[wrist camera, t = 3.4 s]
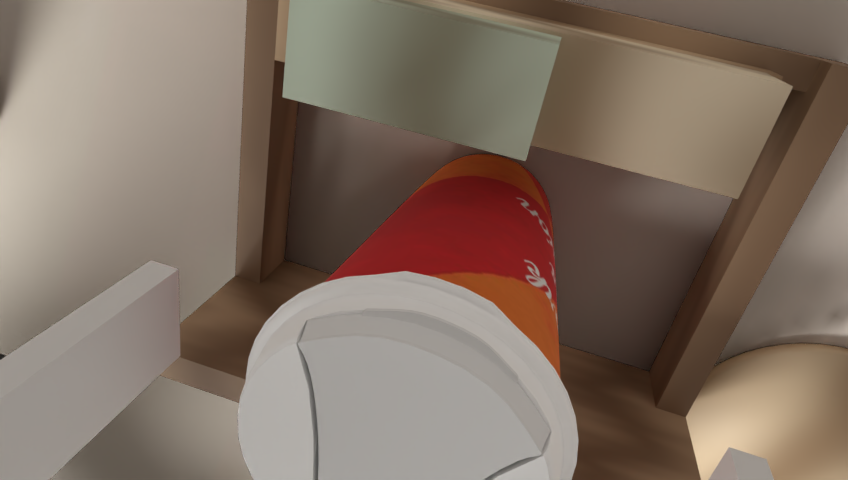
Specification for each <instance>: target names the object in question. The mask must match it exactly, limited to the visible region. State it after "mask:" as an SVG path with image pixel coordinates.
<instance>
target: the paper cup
mask: <svg viewBox="0 0 848 480" xmlns="http://www.w3.org/2000/svg"><path fill="white" fill-rule="evenodd" d="M237 421H238V438H239V442H240V446H241V450H242V455H243V458H244V460H245V462H246V465H247V467H248V470H249V472H250V474H251V476H252V478H253V479H254V480H572V477H573V473H574V470H575V467H576V464H577V453H578V431H577V424H576V416H575V413H574V410H573V407H572V404H571V401H570V398H569V395H568V392H567V390H566V388H565V387H564V385H563V383H562V381H561V379H560V358H559V336H558V314H557V292H556V273H555V254H554V238H553V226H552V216H551V211H550V206H549V202H548V199H547V196H546V194H545V192H544V190H543V188H542V187H541V185H540V184H539V182H538V181H537V180H536V178H535V177H534V176H533V175H532V174H531V173H530V172H529V171H528V170H526V169H525V168H524V167H522V166H521V165H519V164H518V163H516V162H514V161H512V160H510V159H507V158H504V157H501V156H497V155H491V154H475V155H468V156H465V157H461V158H458V159H456V160H454V161H452V162H450V163H448V164H446V165H445V166H443V167H442V168H441V169H439V170H438V171H437V172H436V173H434V174H433V175H432V176H431V177H430V178H429V179H428V180H427V181H426V182H425V183H423V184H422V185H421V186H420V187H419V188H418V189H417V190H416V191H415V192H414V193H413V194H412V195H411V196H410V197H409V198H408V199H407V200H406V201H405V202H404V203H403V204H402V205H401V206H400V207H399V208H398V209H397V210H396V211H395V212H394V213H393V214H392V215H391V216H390V217H389V218H388V219H387V220H386V221H385V222H384V223H383V224H382V225H381V226H380V227H379V228H378V229H377V230H376V231H375V232H374V233H373V234H372V235H371V236H370V237H369V238H368V239H367V240H366V241H365V242H364V243H363V244H362V245H361V246H360V247H359V248H358V249H357V250H356V251H355V252H354V253H353V254H352V255H351V256H350V257H349V258H348V259H347V260H346V261H345V262H344V263H343V264H342V265H341V266H340V267H339V268H338V269H337V270H336V271H335V272H334V273H333V274H332V275H331V276H330V277H329V278H328V279H327V280H326V281H325V282H323V283H321V284H318V285H316V286H314V287H311V288H309V289H307V290H305V291H302V292H300V293H299V294H297V295H296V296H294V297H293V298H291V299H290V300H288V301H287V302H286V303H284V304H283V305H281V306H280V307H279V309H278V310H277V311H276V312H275V313H274V314H273V315H272V316H271V317H270V318H269V319H268V320H267V321H266V322H265V324H264V325H263V327H262V329H261V330H260V332H259V334H258V335H257V337H256V338H255V341H254V344H253V346H252V349H251V352H250V355H249V358H248V365H247V372H246V381H245V385H244V387H243V390H242V393H241V396H240V401H239V409H238V420H237Z"/></svg>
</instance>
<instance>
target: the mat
mask: <svg viewBox="0 0 848 480" xmlns="http://www.w3.org/2000/svg"><path fill="white" fill-rule="evenodd" d="M686 420H687V424H688V429H689V433H690V437H691V441H692V445H693V449H694V453H695V457H696V461H697V465H698V469H699V473H700V478H701V480H709V478H710V476H711V475H712V473H713V472H714V470H715V468H716V467H717V465H718V464H719V462H720V461H721V459H722V457H723V456H724V454H725V453H726V451H727V450H728V448H729V447H730V448H734V449H737V450H740V451H743V452H746V453H749V454H752V455H755V456H758V457H761V458H764V459H767V462H768V465H769V467H770V470H771V473H772V476H773V478H774V480H848V349H847V348H842V347H838V346H831V345H823V344H805V343H797V344H783V345H776V346H770V347H764V348H760V349H756V350H752V351H749V352H745V353H743V354H740V355H737V356H735V357H732V358H730V359H728V360H726V361H724V362H722V363H720V364H718V365H716V366H715V367H713V369H712V371H711V372H710V374H709V376H708V378H707V380H706V381H705V383H704V385H703V387H702V389H701V391H700V392H699V394H698V396H697V398H696V400H695V401H694V403H693V405H692V407H691V409H690V410H689V412H688V414H687V416H686Z"/></svg>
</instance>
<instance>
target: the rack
mask: <svg viewBox="0 0 848 480" xmlns="http://www.w3.org/2000/svg"><path fill="white" fill-rule="evenodd" d="M298 101H299V102H303V103H306V104H310V105H314V106H318V107H322V108H325V109H329V110H333V111H337V112H341V113H344V114H348V115H352V116H356V117H359V118H363V119H367V120H371V121H375V122H378V123H382V124H386V125H390V126H394V127H397V128H401V129H405V130H409V131H412V132H416V133H420V134H424V135H428V136H431V137H435V138H439V139H443V140H447V141H450V142H454V143H458V144H462V145H465V146H469V147H473V148H477V149H481V150H484V151H488V152H492V153H496V154H500V155H503V156H507V157H511V158H515V159H518V160H522V161H526V158H527V155H528V152H529V148H530V145H531V146H535V147H539V148H543V149H547V150H551V151H554V152H558V153H562V154H566V155H570V156H574V157H578V158H581V159H585V160H589V161H593V162H597V163H601V164H604V165H608V166H612V167H616V168H620V169H624V170H628V171H631V172H635V173H639V174H643V175H647V176H651V177H654V178H658V179H662V180H666V181H670V182H674V183H678V184H681V185H685V186H689V187H693V188H697V189H701V190H704V191H708V192H712V193H716V194H720V195H724V196H728V197H731V198H733V200H732V202H731V204H730V207H729V209H728V211H727V213H726V215H725V217H724V219H723V221H722V223H721V225H720V227H719V229H718V231H717V233H716V235H715V237H714V239H713V241H712V244H711V246H710V248H709V250H708V252H707V254H706V256H705V258H704V260H703V262H702V264H701V266H700V268H699V270H698V272H697V274H696V276H695V278H694V281H693V283H692V285H691V287H690V289H689V291H688V293H687V295H686V297H685V299H684V301H683V303H682V305H681V307H680V309H679V311H678V313H677V315H676V318H675V320H674V322H673V324H672V326H671V328H670V330H669V332H668V334H667V336H666V338H665V340H664V342H663V344H662V346H661V348H660V350H659V352H658V355H657V357H656V359H655V361H654V363H653V365H652V367H651V369H650V371H646V370H642V369H639V368H636V367H633V366H629V365H626V364H623V363H620V362H616V361H613V360H610V359H606V358H603V357H600V356H597V355H593V354H590V353H587V352H584V351H580V350H577V349H574V348H570V347H567V346H564V345H561V344H559V358H560V379H561V381H562V383H563V385H564V387H565V388H566V390H567V392H568V395H569V398H570V401H571V404H572V407H573V410H574V413H575V416H576V424H577V431H578V453H577V464H576V467H575V470H574V473H573V477H572V480H701V478H700V473H699V469H698V465H697V461H696V457H695V453H694V449H693V445H692V441H691V437H690V433H689V429H688V424H687V420H686V416H687V414H688V412H689V410H690V409H691V407H692V405H693V403H694V401H695V400H696V398H697V396H698V394H699V392H700V391H701V389H702V387H703V385H704V383H705V381H706V380H707V378H708V376H709V374H710V372H711V371H712V369H713V367H714V365H715V363H716V362H717V360H718V358H719V356H720V354H721V352H722V351H723V349H724V347H725V345H726V343H727V342H728V340H729V338H730V336H731V334H732V333H733V331H734V329H735V327H736V325H737V324H738V322H739V320H740V318H741V316H742V314H743V313H744V311H745V309H746V307H747V305H748V304H749V302H750V300H751V298H752V296H753V295H754V293H755V291H756V289H757V287H758V285H759V284H760V282H761V280H762V278H763V276H764V275H765V273H766V271H767V269H768V267H769V266H770V264H771V262H772V260H773V258H774V256H775V255H776V253H777V251H778V249H779V247H780V246H781V244H782V242H783V240H784V238H785V237H786V235H787V233H788V231H789V229H790V227H791V226H792V224H793V222H794V220H795V218H796V217H797V215H798V213H799V211H800V209H801V208H802V206H803V204H804V202H805V200H806V198H807V197H808V195H809V193H810V191H811V189H812V188H813V186H814V184H815V182H816V180H817V179H818V177H819V175H820V173H821V171H822V169H823V168H824V166H825V164H826V162H827V160H828V159H829V157H830V155H831V153H832V151H833V150H834V148H835V146H836V144H837V142H838V140H839V139H840V137H841V135H842V133H843V131H844V130H845V128H846V126H847V124H848V64H845V63H842V62H837V61H833V60H828V59H824V58H819V57H815V56H810V55H806V54H801V53H797V52H793V51H788V50H784V49H779V48H775V47H770V46H766V45H761V44H757V43H752V42H748V41H743V40H739V39H734V38H730V37H725V36H721V35H716V34H712V33H708V32H703V31H699V30H694V29H690V28H685V27H681V26H676V25H672V24H667V23H663V22H658V21H654V20H649V19H645V18H640V17H636V16H631V15H627V14H623V13H618V12H614V11H609V10H605V9H600V8H596V7H591V6H587V5H582V4H578V3H573V2H569V1H564V0H247V15H246V39H245V62H244V85H243V108H242V131H241V154H240V177H239V200H238V223H237V246H236V269H235V277H234V278H232V279H231V280H230V281H229V282H228V283H227V284H226V285H224V286H223V287H222V288H221V289H220V290H219V291H217V292H216V293H215V294H214V295H213V296H212V297H211V298H209V299H208V300H207V301H206V302H205V303H204V304H203V305H201V306H200V307H199V308H198V309H197V310H196V311H194V312H193V313H192V314H191V315H190V316H189V317H188V318H186V319H185V320H184V321H183V322H182V323H181V324H180V356H179V357H178V358H177V359H176V360H175V361H174V362H173V363H172V364H171V365H170V366H169V367H168V368H167V369H166V370H165V371H164V372H163V373H162V374H160V376H163V377H166V378H169V379H172V380H175V381H177V382H180V383H183V384H186V385H189V386H192V387H195V388H198V389H201V390H203V391H206V392H209V393H212V394H215V395H218V396H221V397H224V398H227V399H229V400H232V401H235V402H238V403H239V401H240V396H241V393H242V390H243V387H244V385H245V381H246V372H247V365H248V358H249V355H250V352H251V349H252V346H253V344H254V341H255V338H256V337H257V335H258V334H259V332H260V330H261V329H262V327H263V325H264V324H265V322H266V321H267V320H268V319H269V318H270V317H271V316H272V315H273V314H274V313H275V312H276V311H277V310H278V309H279V307H280V306H281V305H283V304H284V303H286V302H287V301H288V300H290V299H291V298H293V297H294V296H296V295H297V294H299V293H300V292H302V291H305V290H307V289H309V288H311V287H314V286H316V285H318V284H321V283H323V282H325V281H326V280H327V279H328V278H329V277H330V276H331V274H328V273H325V272H322V271H318V270H315V269H312V268H309V267H305V266H302V265H299V264H295V263H292V262H289V261H286V260H284V257H285V246H286V234H287V223H288V212H289V201H290V190H291V178H292V167H293V156H294V145H295V133H296V122H297V111H298Z"/></svg>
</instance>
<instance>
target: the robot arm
mask: <svg viewBox="0 0 848 480" xmlns="http://www.w3.org/2000/svg"><path fill="white" fill-rule="evenodd" d="M179 356H180V310H179V269H177V268H174V267H171V266H168V265H165V264H162V263H159V262H156V261H153V260H150V261H149V262H147V263H146V264H144V265H143V266H141V267H140V268H138V269H137V270H135V271H134V272H132V273H131V274H129V275H128V276H126V277H125V278H123V279H122V280H120V281H119V282H117V283H116V284H114V285H113V286H111V287H110V288H108V289H107V290H105V291H104V292H102V293H101V294H99V295H98V296H96V297H94V298H93V299H91V300H90V301H88V302H87V303H85V304H84V305H82V306H81V307H79V308H78V309H76V310H75V311H73V312H72V313H70V314H69V315H67V316H66V317H64V318H63V319H61V320H60V321H58V322H57V323H55V324H54V325H52V326H51V327H49V328H48V329H46V330H45V331H43V332H42V333H40V334H39V335H37V336H36V337H34V338H33V339H31V340H30V341H28V342H27V343H25V344H24V345H22V346H21V347H19V348H18V349H16V350H15V351H13V352H11V353H10V354H8V355H7V356H5V355H2V354H0V480H49V479H50V478H52V477H53V476H54V475H55V474H56V473H57V472H58V471H59V470H60V469H61V468H62V467H63V466H64V465H65V464H66V463H67V462H68V461H70V460H71V459H72V458H73V457H74V456H75V455H76V454H77V453H78V452H79V451H80V450H81V449H82V448H83V447H84V446H85V445H86V444H87V443H89V442H90V441H91V440H92V439H93V438H94V437H95V436H96V435H97V434H98V433H99V432H100V431H101V430H102V429H103V428H104V427H105V426H107V425H108V424H109V423H110V422H111V421H112V420H113V419H114V418H115V417H116V416H117V415H118V414H119V413H120V412H121V411H122V410H123V409H124V408H126V407H127V406H128V405H129V404H130V403H131V402H132V401H133V400H134V399H135V398H136V397H137V396H138V395H139V394H140V393H141V392H142V391H144V390H145V389H146V388H147V387H148V386H149V385H150V384H151V383H152V382H153V381H154V380H155V379H156V378H157V377H158V376H159V375H160V374H162V373H163V372H164V371H165V370H166V369H167V368H168V367H169V366H170V365H171V364H172V363H173V362H174V361H175V360H176V359H177V358H178V357H179ZM709 480H774V478H773V476H772V473H771V470H770V467H769V465H768V462H767V459H764V458H761V457H758V456H755V455H752V454H749V453H746V452H743V451H740V450H737V449H734V448H730V447H729V448H728V450H727V451H726V453H725V454H724V456H723V457H722V459H721V461H720V462H719V464H718V465H717V467H716V468H715V470H714V472H713V473H712V475H711V476H710V478H709Z"/></svg>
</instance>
